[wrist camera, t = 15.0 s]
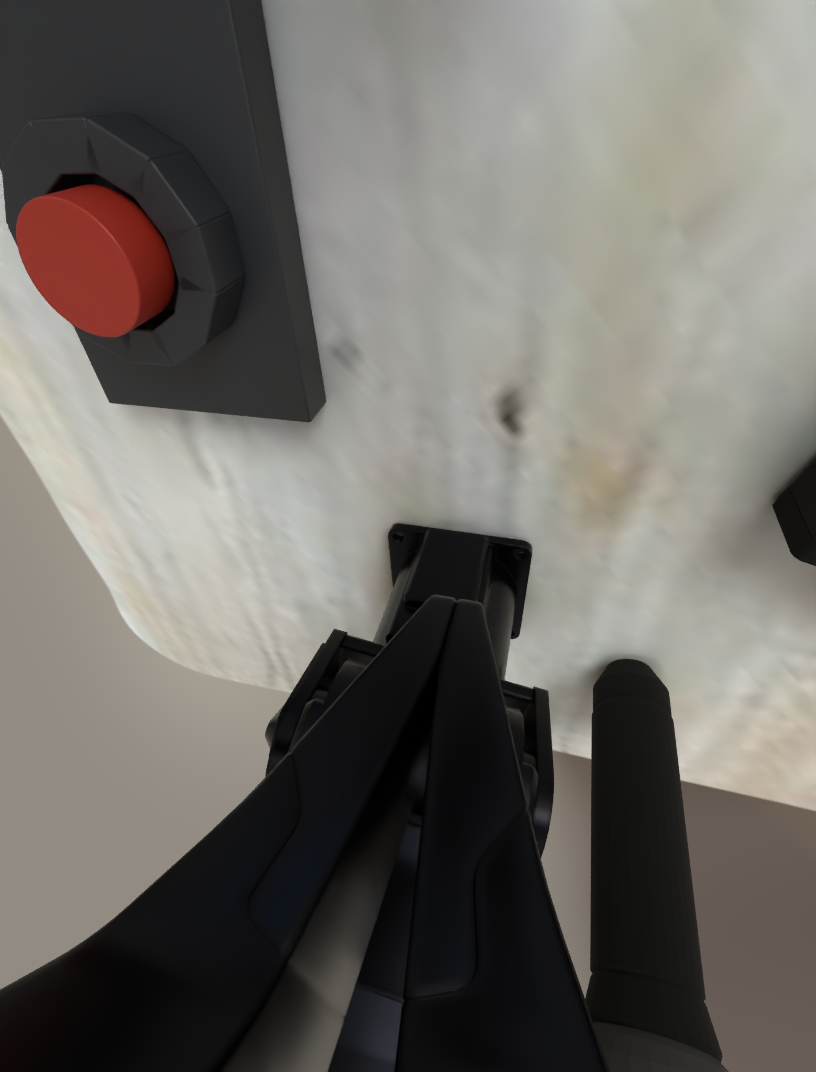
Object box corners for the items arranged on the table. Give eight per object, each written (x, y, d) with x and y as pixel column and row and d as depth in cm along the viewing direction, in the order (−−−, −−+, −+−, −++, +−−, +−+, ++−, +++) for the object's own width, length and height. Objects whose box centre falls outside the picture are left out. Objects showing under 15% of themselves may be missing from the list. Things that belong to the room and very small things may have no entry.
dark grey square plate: (327, 401, 21) (290, 449, 18) (134, 385, 23) (78, 425, 20) (254, -45, 13) (173, -68, 10) (-33, -12, 15) (-159, -24, 12)
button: (191, 319, 16) (158, 341, 15) (95, 314, 17) (56, 335, 16) (148, 182, 14) (105, 195, 13) (39, 184, 15) (-12, 196, 14)
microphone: (582, 709, 30) (570, 1288, 16) (546, 638, 27) (491, 1289, 13) (711, 705, 27) (837, 1421, 13) (688, 624, 24) (825, 1470, 10)
